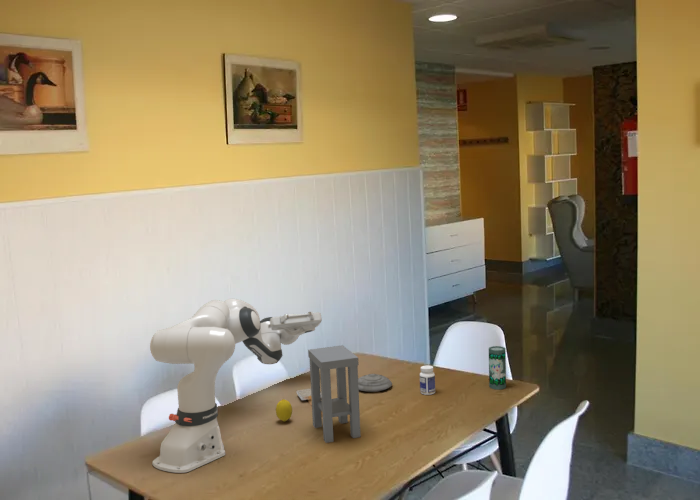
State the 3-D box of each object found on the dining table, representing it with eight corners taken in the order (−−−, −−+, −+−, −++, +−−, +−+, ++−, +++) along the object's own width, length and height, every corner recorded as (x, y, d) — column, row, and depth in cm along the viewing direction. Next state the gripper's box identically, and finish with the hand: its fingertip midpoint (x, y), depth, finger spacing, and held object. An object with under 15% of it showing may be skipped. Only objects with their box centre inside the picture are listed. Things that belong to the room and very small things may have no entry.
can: (488, 389, 251) (488, 350, 249) (490, 383, 257) (489, 345, 255) (505, 389, 249) (504, 350, 247) (506, 384, 255) (505, 346, 253)
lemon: (290, 425, 224) (288, 402, 223) (274, 424, 225) (273, 401, 224) (294, 418, 229) (293, 396, 228) (279, 418, 230) (278, 396, 229)
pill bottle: (435, 390, 252) (434, 364, 251) (435, 395, 247) (434, 369, 245) (419, 390, 253) (419, 364, 252) (420, 395, 247) (419, 369, 246)
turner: (316, 387, 254) (317, 393, 254) (296, 390, 251) (296, 396, 252) (335, 408, 231) (335, 414, 232) (313, 411, 229) (313, 418, 229)
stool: (361, 437, 211) (358, 357, 208) (325, 443, 208) (321, 362, 204) (346, 419, 226) (342, 345, 223) (311, 425, 223) (308, 349, 220)
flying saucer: (347, 385, 262) (346, 372, 261) (381, 379, 268) (380, 366, 268) (364, 397, 249) (363, 382, 248) (399, 389, 255) (398, 376, 254)
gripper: (266, 320, 265) (271, 309, 253) (315, 315, 272) (322, 304, 259) (268, 336, 263) (273, 325, 251) (318, 330, 269) (325, 319, 257)
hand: (299, 314), depth 255 cm, fingers open, 8 cm apart
